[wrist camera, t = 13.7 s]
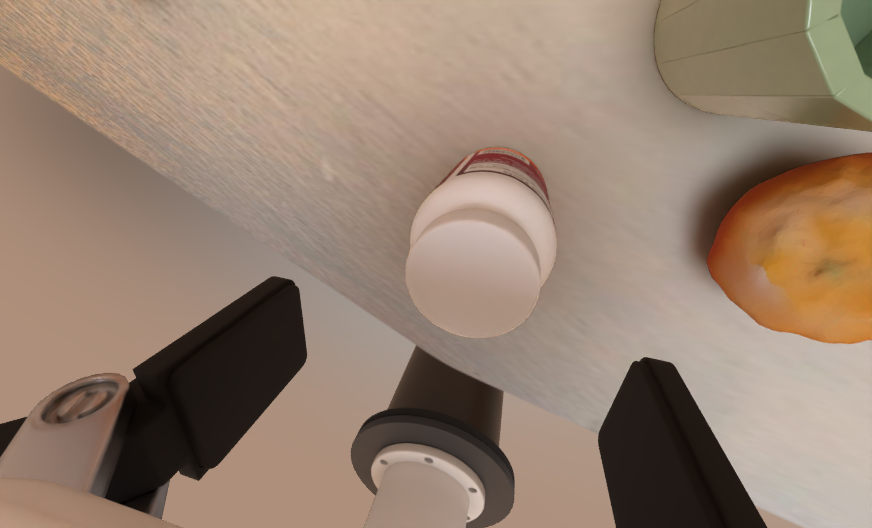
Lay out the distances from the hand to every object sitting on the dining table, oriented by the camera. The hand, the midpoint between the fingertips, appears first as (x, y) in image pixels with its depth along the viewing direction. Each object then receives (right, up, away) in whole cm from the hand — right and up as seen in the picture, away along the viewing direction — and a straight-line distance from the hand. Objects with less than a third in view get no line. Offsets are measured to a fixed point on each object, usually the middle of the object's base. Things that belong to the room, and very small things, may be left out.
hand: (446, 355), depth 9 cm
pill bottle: (+3, +7, +12) cm, 14 cm away
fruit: (+18, +5, +8) cm, 20 cm away
